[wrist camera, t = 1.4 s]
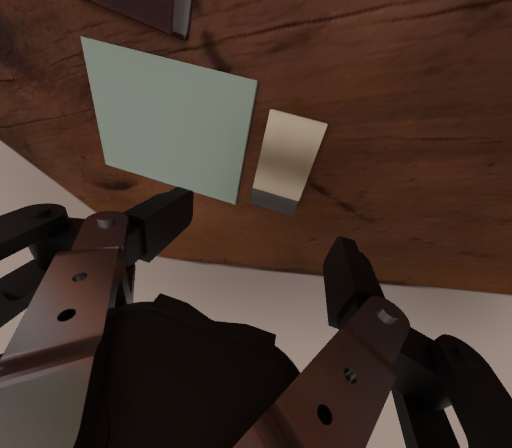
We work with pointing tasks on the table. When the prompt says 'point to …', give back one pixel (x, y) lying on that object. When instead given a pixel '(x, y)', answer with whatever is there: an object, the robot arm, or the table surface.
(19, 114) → the table surface
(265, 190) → the cream rectangular block
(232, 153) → the rubber mat
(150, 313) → the robot arm
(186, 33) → the book
